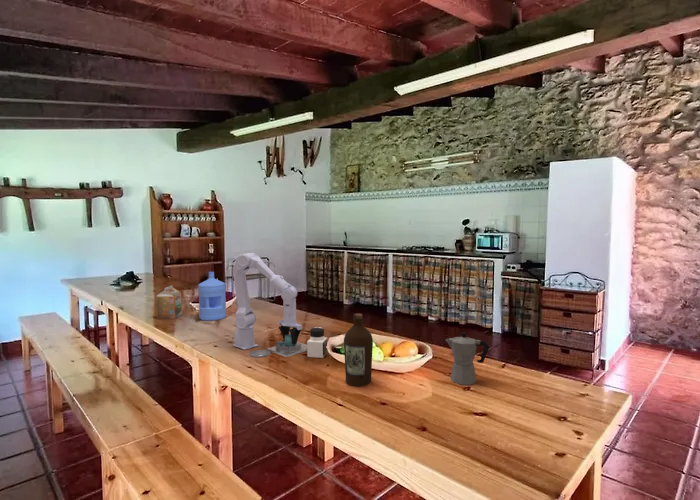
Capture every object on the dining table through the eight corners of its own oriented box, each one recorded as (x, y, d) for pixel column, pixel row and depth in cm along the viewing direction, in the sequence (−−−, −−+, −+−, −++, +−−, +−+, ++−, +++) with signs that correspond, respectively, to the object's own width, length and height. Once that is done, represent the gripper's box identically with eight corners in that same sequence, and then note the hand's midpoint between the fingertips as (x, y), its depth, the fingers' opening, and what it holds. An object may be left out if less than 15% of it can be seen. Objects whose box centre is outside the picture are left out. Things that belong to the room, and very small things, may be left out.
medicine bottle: (323, 358, 177) (322, 330, 176) (307, 357, 179) (306, 330, 178) (327, 352, 184) (327, 326, 183) (312, 351, 186) (311, 325, 185)
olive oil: (349, 374, 159) (348, 310, 157) (376, 377, 155) (375, 312, 153) (340, 385, 148) (339, 316, 146) (368, 388, 145) (368, 318, 143)
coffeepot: (443, 382, 150) (443, 334, 149) (447, 373, 159) (447, 327, 158) (487, 388, 145) (488, 338, 143) (489, 378, 153) (490, 331, 152)
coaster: (245, 354, 183) (245, 353, 183) (262, 349, 190) (262, 348, 190) (257, 358, 177) (257, 357, 177) (274, 353, 184) (274, 352, 184)
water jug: (206, 314, 260) (205, 270, 258) (230, 315, 258) (229, 270, 256) (194, 320, 245) (192, 273, 242) (219, 321, 242) (217, 273, 240)
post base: (266, 350, 189) (266, 339, 188) (294, 342, 200) (294, 332, 200) (286, 357, 179) (285, 345, 179) (313, 348, 191) (313, 337, 190)
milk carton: (174, 319, 248) (173, 288, 246) (157, 319, 248) (155, 288, 246) (182, 315, 258) (180, 285, 257) (165, 315, 258) (164, 285, 257)
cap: (277, 345, 187) (277, 337, 187) (291, 341, 193) (291, 333, 193) (284, 347, 184) (284, 339, 183) (298, 343, 190) (297, 335, 189)
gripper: (272, 312, 190) (273, 341, 191) (293, 317, 180) (293, 347, 182) (285, 309, 195) (285, 338, 197) (305, 314, 186) (305, 344, 187)
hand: (290, 342), depth 189 cm, fingers open, 5 cm apart
